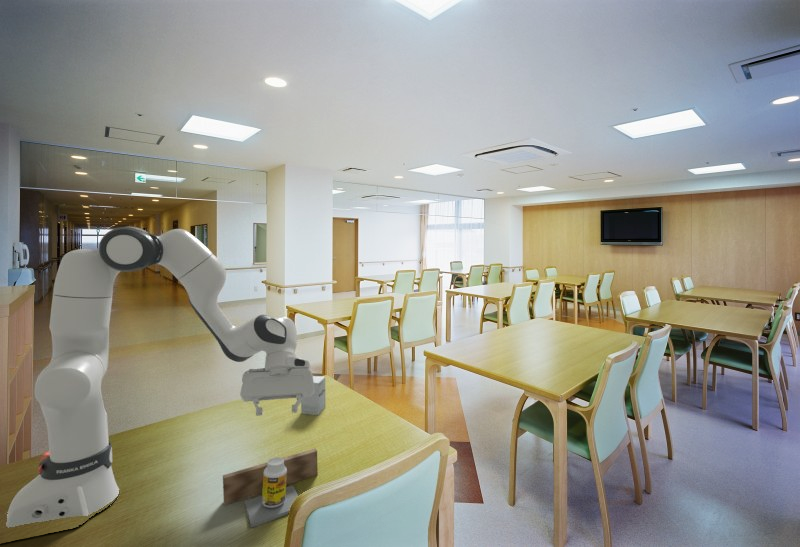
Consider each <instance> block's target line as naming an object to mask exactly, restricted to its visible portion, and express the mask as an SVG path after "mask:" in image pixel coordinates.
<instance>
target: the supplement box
mask: <svg viewBox="0 0 800 547" xmlns="http://www.w3.org/2000/svg"><path fill="white" fill-rule="evenodd" d="M313 380H314V394H313V396H312V397H302V401H301V403H300V412H301V414H303V415H314V416H319V415H320V414H321V412H322V411H323V410H324V409H325V408H326V406H327V405H326V398H327V397H326V376H318V375H316V376H315V375H313Z"/></svg>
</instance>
